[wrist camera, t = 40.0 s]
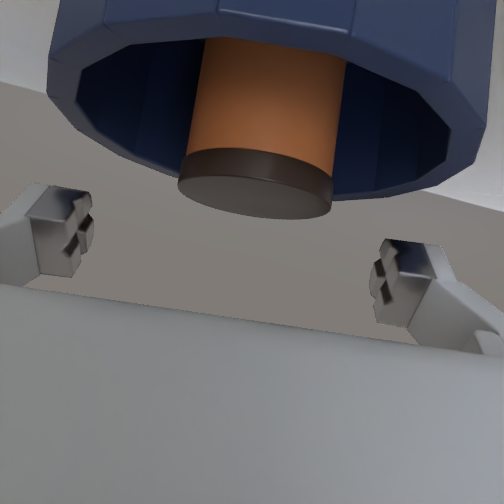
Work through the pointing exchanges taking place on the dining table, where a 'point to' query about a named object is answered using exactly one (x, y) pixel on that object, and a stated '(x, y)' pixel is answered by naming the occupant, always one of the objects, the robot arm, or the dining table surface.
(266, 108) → the cylinder
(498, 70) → the dining table surface
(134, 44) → the tin
